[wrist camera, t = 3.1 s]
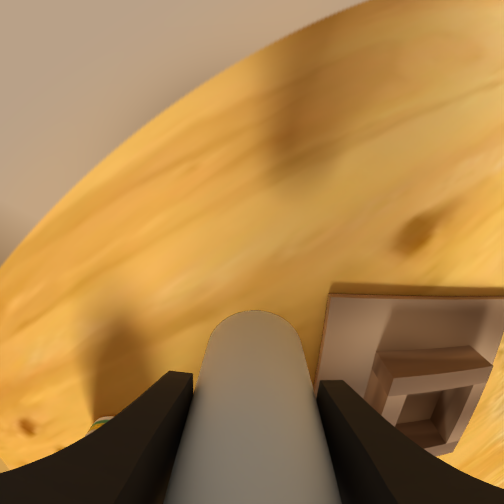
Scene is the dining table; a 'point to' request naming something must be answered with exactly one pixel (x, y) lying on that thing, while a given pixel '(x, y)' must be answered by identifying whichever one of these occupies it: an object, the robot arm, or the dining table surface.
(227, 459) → the peg
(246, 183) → the dining table surface
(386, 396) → the socket block
